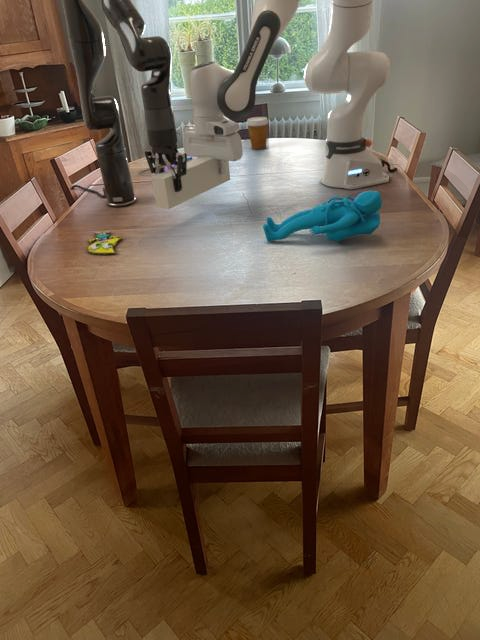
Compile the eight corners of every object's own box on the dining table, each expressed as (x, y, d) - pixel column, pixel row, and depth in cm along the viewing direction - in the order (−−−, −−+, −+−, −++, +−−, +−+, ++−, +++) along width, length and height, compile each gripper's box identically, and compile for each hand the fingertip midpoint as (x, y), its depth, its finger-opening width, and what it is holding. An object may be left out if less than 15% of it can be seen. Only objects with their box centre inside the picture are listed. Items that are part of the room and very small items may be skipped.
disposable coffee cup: (269, 149, 209) (268, 120, 203) (248, 151, 210) (246, 121, 203) (269, 144, 217) (267, 115, 210) (248, 145, 217) (246, 117, 211)
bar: (217, 178, 153) (215, 150, 148) (230, 179, 150) (227, 152, 146) (156, 206, 135) (151, 176, 130) (169, 209, 132) (164, 178, 128)
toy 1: (125, 229, 140) (115, 251, 128) (126, 232, 141) (116, 254, 128) (91, 232, 140) (77, 253, 128) (92, 234, 141) (78, 256, 128)
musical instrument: (136, 181, 187) (185, 170, 185) (134, 175, 186) (183, 165, 184) (148, 168, 208) (192, 158, 206) (147, 163, 207) (191, 153, 205)
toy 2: (268, 204, 133) (379, 177, 123) (278, 239, 138) (385, 216, 128) (257, 229, 119) (380, 200, 109) (269, 266, 124) (388, 242, 114)
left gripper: (131, 127, 126) (143, 190, 135) (171, 130, 119) (180, 197, 128) (151, 121, 131) (161, 183, 140) (190, 124, 123) (199, 189, 133)
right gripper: (176, 125, 143) (182, 172, 151) (230, 129, 132) (234, 179, 140) (189, 121, 147) (195, 166, 155) (243, 124, 136) (247, 173, 144)
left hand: (170, 189), depth 134 cm, fingers closed on bar, 5 cm apart
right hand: (214, 172), depth 147 cm, fingers closed on bar, 5 cm apart
